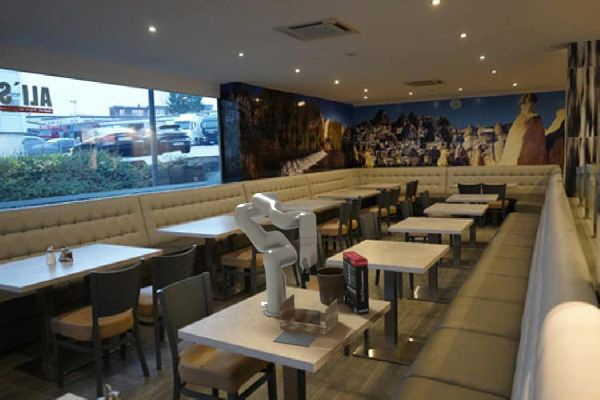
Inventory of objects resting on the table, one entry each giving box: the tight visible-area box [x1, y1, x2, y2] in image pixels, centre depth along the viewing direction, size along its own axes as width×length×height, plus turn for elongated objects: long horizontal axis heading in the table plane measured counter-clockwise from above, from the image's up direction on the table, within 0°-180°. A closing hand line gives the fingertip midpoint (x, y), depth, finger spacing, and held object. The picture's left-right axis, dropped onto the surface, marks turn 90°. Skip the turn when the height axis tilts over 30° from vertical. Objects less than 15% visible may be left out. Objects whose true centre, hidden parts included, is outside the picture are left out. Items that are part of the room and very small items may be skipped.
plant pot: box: [316, 266, 345, 306], centre depth 234 cm, size 16×16×16 cm
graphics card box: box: [342, 250, 370, 316], centre depth 221 cm, size 17×7×27 cm, turn 17°
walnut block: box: [295, 308, 321, 325], centre depth 205 cm, size 10×5×6 cm, turn 67°
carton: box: [278, 294, 340, 335], centre depth 204 cm, size 22×18×11 cm
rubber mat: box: [272, 331, 318, 348], centre depth 191 cm, size 16×10×1 cm, turn 67°
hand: (310, 278), depth 203 cm, fingers open, 9 cm apart
